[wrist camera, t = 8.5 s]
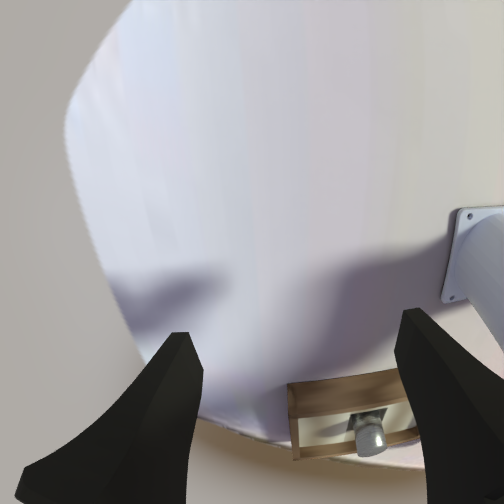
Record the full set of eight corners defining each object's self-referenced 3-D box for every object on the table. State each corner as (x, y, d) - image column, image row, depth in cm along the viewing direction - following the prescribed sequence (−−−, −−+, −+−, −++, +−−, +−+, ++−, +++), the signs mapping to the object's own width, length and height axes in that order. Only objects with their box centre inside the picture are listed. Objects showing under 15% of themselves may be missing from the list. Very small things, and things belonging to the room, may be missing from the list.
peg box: (443, 357, 24) (455, 383, 21) (415, 415, 30) (421, 437, 27) (287, 383, 26) (288, 415, 23) (292, 436, 32) (293, 460, 29)
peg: (367, 393, 27) (378, 442, 22) (380, 401, 28) (392, 447, 23) (344, 406, 28) (352, 454, 23) (358, 413, 29) (367, 458, 24)
